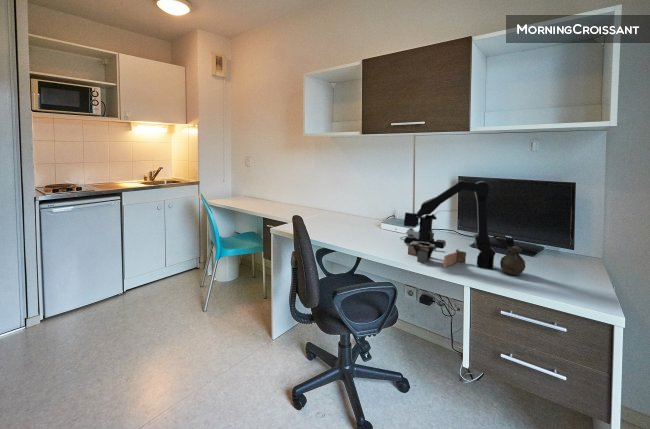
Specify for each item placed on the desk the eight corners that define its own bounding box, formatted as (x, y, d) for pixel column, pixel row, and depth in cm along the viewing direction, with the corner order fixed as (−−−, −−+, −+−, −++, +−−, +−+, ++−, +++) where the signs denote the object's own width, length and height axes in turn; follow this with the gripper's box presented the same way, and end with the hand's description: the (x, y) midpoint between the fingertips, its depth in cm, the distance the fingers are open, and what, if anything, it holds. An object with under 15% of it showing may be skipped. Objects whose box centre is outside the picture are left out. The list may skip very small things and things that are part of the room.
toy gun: (428, 256, 188) (435, 240, 185) (402, 242, 197) (407, 227, 194) (430, 255, 190) (436, 239, 186) (403, 242, 199) (409, 226, 195)
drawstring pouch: (515, 269, 156) (518, 244, 154) (529, 277, 147) (532, 250, 145) (495, 270, 156) (497, 244, 154) (506, 277, 147) (509, 250, 144)
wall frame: (465, 262, 166) (466, 250, 165) (464, 263, 164) (465, 251, 163) (408, 253, 180) (409, 242, 179) (407, 254, 179) (408, 243, 177)
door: (454, 261, 167) (455, 251, 166) (456, 261, 166) (457, 251, 165) (443, 266, 159) (444, 256, 158) (445, 267, 159) (446, 256, 158)
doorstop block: (420, 258, 172) (421, 248, 171) (429, 260, 170) (430, 249, 169) (417, 261, 167) (417, 250, 166) (426, 263, 165) (427, 252, 164)
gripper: (449, 226, 167) (447, 257, 170) (411, 222, 177) (410, 251, 180) (444, 231, 158) (441, 263, 161) (404, 226, 167) (403, 257, 170)
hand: (423, 258), depth 168 cm, fingers closed on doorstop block, 4 cm apart
